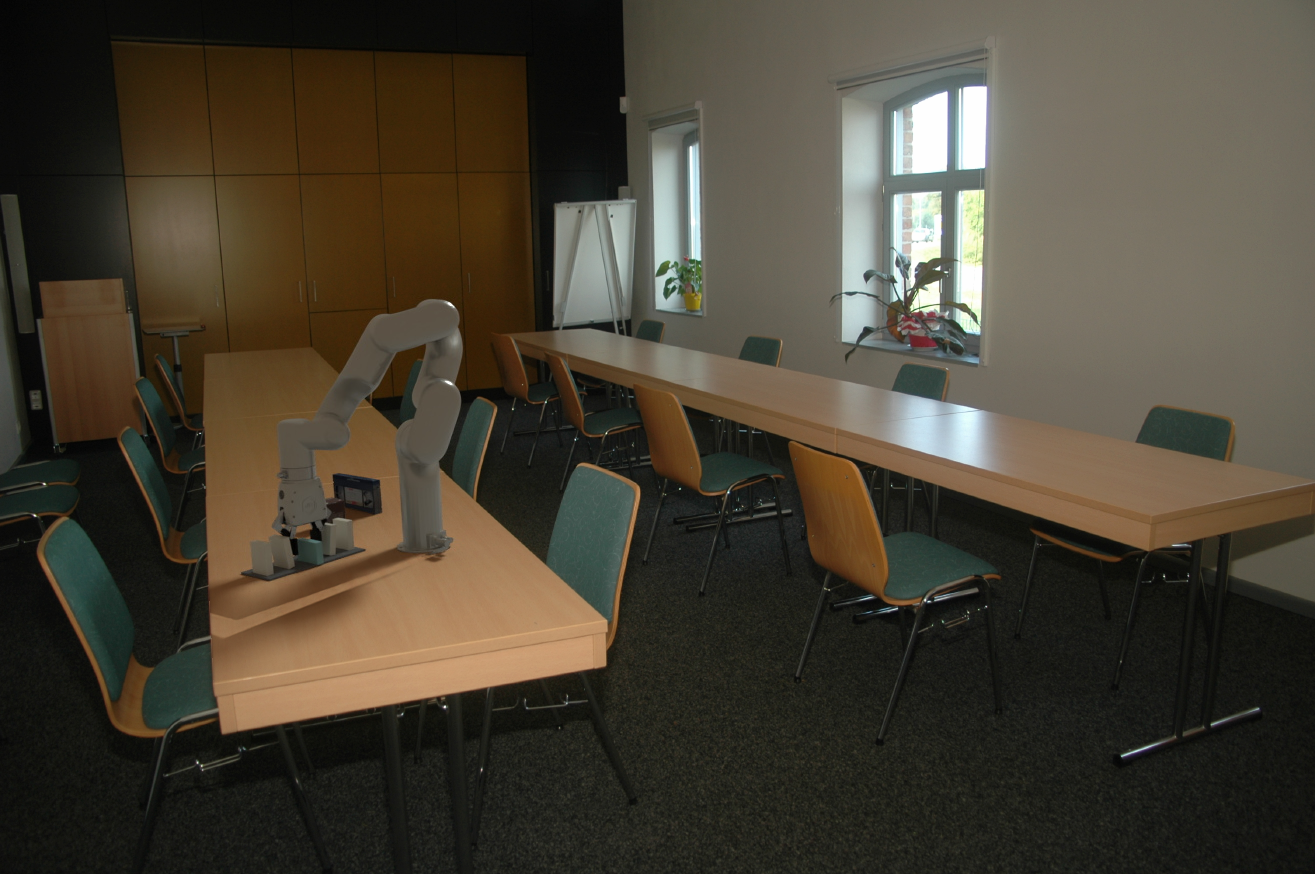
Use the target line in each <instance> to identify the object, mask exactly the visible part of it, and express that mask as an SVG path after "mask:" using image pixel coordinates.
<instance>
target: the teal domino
mask: <svg viewBox="0 0 1315 874" xmlns="http://www.w3.org/2000/svg"><path fill="white" fill-rule="evenodd" d="M297 540H298V552H299V554H298V555H297V559H298V561H303V562H307V563H312V564H316V565H319V564H322V563H324V561H323V548H322V542H321V541H316V540H311V539H310V538H306V537H300V538H297ZM322 565H323V564H322ZM319 566H320V565H319Z"/></svg>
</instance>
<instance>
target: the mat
mask: <svg viewBox="0 0 1315 874" xmlns="http://www.w3.org/2000/svg"><path fill="white" fill-rule="evenodd" d="M365 551H366V548H364V547H363V548H362V547H357V546H354V549H352V550H344V549H339V548H336V554H335V555H325V554H323V561H324V563H322V564H319V565H316V564H312V563H307V562H303V561H298V559H297V556H294V555H293V559H294V564H295V567H292V568H290V569H286V568H282V567H278V566H275V565H274V561H273V572H274V574H272V575H268V576H266V575H262V574H257V573H253V568H251V569H250V568H249V569H246V570H244V571H240V574H241V575H244V576H248V577H252V578H256V579H261V580H264V581H269V582H271V581H274V580H277V579H280V578H284V577H286V576H290V575H293V574H296V573H299V572H303V571H305V570H308V569H312V568H315V567H318V566H320V565H324V564H325V565H326V564H328V563H331V562H334V561H337V560H341V559H344V558H346V557H350V556H353V555H356V554H360V553H362V552H365Z"/></svg>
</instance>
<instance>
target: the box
mask: <svg viewBox="0 0 1315 874" xmlns="http://www.w3.org/2000/svg"><path fill="white" fill-rule="evenodd" d="M325 500H326V507H327V508H328V509H329V510H330V511H331V515H330V516H329V518H328V519H327V522H326V523H329V524H333V519H335V518H343V519H347V517H346V515H347V514H346V507H345V503H344V500H341V499H337V498H334V497H333V496H331V497H328V498H325Z"/></svg>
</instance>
